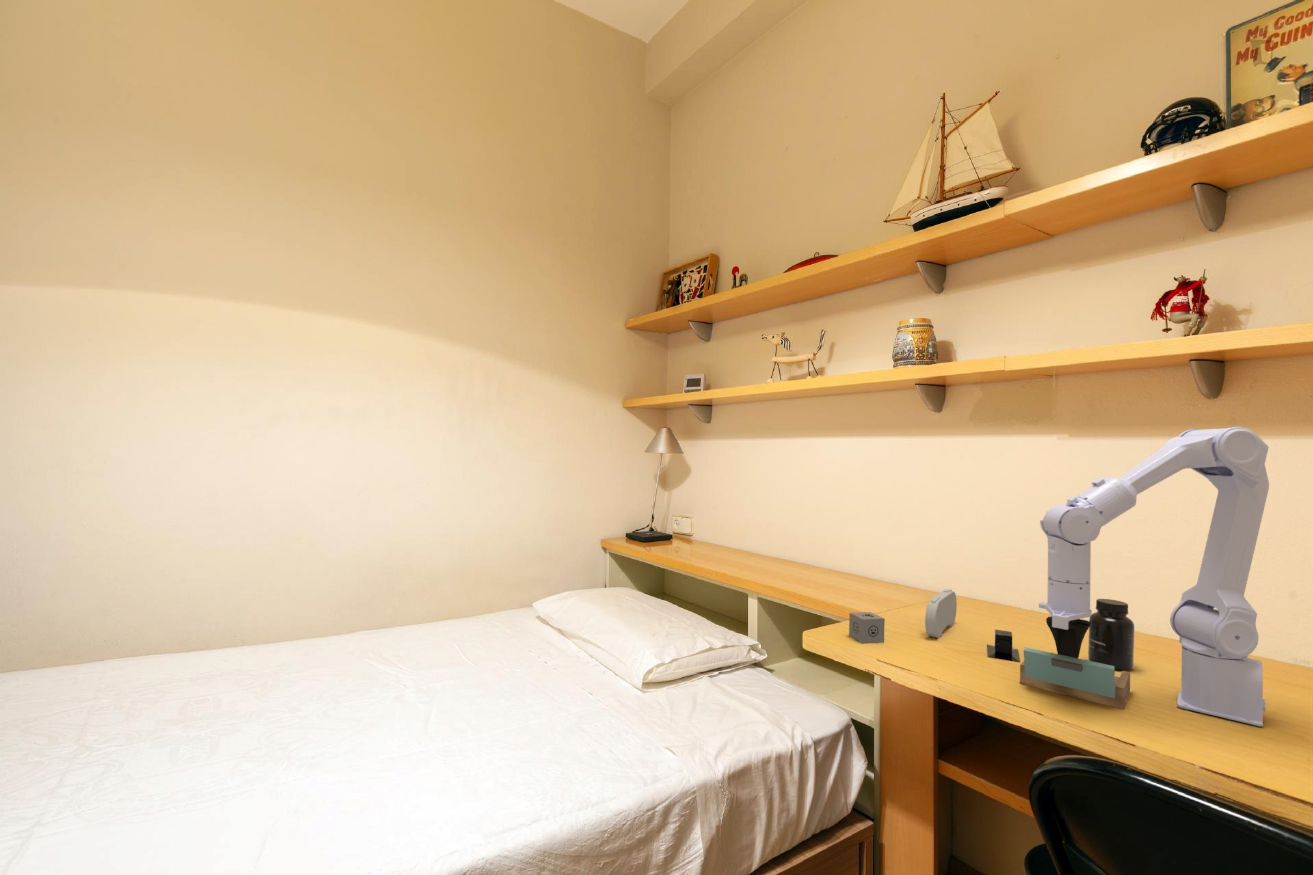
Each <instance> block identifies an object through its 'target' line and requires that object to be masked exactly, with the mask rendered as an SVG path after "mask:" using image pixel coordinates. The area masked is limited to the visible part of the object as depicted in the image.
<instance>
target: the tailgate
mask: <svg viewBox="0 0 1313 875" xmlns="http://www.w3.org/2000/svg"><path fill="white" fill-rule="evenodd" d="M1023 661H1024V666H1025V677H1028V678H1032V679H1036V680H1040V681H1044V682H1049V683H1053V684H1057V685H1061V686H1065V687H1069V688H1073V689H1078V690H1082V691H1086V692H1090V693H1094V694H1098V695H1102V696H1106V697H1111V698H1115V676H1116V673H1115V671H1116V670H1115V667H1114V666H1111V665H1106V664H1102V663H1097V662H1092V661H1089V659H1088V660H1087V659H1082V658H1073V657H1069V656H1064V655H1059V654H1058V653H1053V652H1049V651H1044V650H1040V649H1037V648H1036V649H1035V648H1030V647H1024V648H1023Z"/></svg>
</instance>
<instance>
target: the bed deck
mask: <svg viewBox="0 0 1313 875" xmlns="http://www.w3.org/2000/svg"><path fill="white" fill-rule="evenodd" d="M1019 664H1020V665H1019V666H1020V667H1019V669H1020V671H1019V684H1021V685H1025V686H1028V687H1033V688H1037V689H1039V690H1040V689H1041V690H1044V691H1045V690H1046V691H1050V692H1052V693H1058V694H1062V695H1065V696H1068V697H1074V698H1077V699H1081V700H1085V701H1089V702H1092V703H1097V704H1100V705H1105V706H1109V707H1113V708H1116V709H1117V708H1118V709H1122V710H1124V709H1125V707H1126V703H1127V700H1128V698H1129V696H1130V693H1131V672H1130V671H1121V674H1120V675H1119V676H1116V675H1115V698H1111V697H1106V696H1102V695H1098V694H1094V693H1090V692H1086V691H1082V690H1078V689H1073V688H1069V687H1065V686H1061V685H1057V684H1053V683H1049V682H1044V681H1040V680H1036V679H1032V678H1028V677H1025V666H1024V660H1023V661H1022V662H1020V663H1019Z"/></svg>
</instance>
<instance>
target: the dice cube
mask: <svg viewBox="0 0 1313 875" xmlns="http://www.w3.org/2000/svg"><path fill="white" fill-rule="evenodd" d="M848 620H849V621H848V623H849V624H848V627H849V628H848V637H850V638H851V639H854V640H855V641H857V642H859V643H860V644H865V645H866V644H868V645H869V644H883V643H885V618H884V617H882V616H880V615H878V614H875V613H874V612H871V611H867V612H866V611H863V612H849V618H848Z"/></svg>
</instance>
